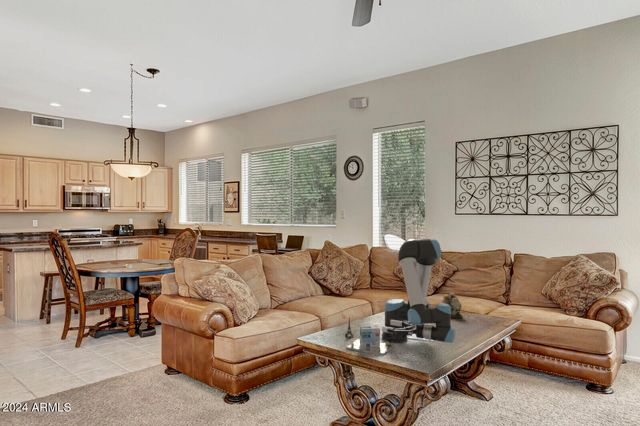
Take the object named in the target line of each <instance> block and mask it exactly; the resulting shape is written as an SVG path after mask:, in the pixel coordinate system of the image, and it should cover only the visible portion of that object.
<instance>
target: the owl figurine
mask: <svg viewBox="0 0 640 426" xmlns="http://www.w3.org/2000/svg"><path fill="white" fill-rule="evenodd" d="M441 303H445V304H448V305H450V307H451V319H453V320H460V319H463V318H464V316H463V314H461V310H462V303H461V301H460V300H459V298H458V297H457V296H456V294H455V293H454V292H450V293H448V294H447V293H446V294H444V295H443V299H442V301H441Z"/></svg>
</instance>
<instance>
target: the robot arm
mask: <svg viewBox="0 0 640 426" xmlns="http://www.w3.org/2000/svg"><path fill="white" fill-rule="evenodd" d="M397 253H398V254H397V260H398V264H399V266H401V270H402V275H403V279H404V284H405V289H406V293H407V297H408V299H407V301H405V299H402V298H392V299H389V300H387V301H385V303H384V326H383V325H382V326H381V332H382V333H381V339H382V340H383V341H384V342H386V341H388V343H394V344H395V343H396V344H397V343H405V342H407V341H408V336H410V337H412V336H413V335H415V337H416V338H417V339H426V340H429V341H436V342H441V343H446V344H447V343H449V344H450V343H451V344H452V343H454V342H455V341H456V329H455V328H453V327H452V326H451V321H452V320H451V307H450V305H448V304H445V303H442V302H439V303H437V304H435V307H431V306H430V302H429V301H428V299H427V295H428V290H429V283H430V279H431V273H432V269H433V268H432V267H433V266H434V265H436V262H437V261H438V260H440V259H441V257H442V250H441V245H440V243H439V241H438V240H437V239H436V238H415V239H414V238H411V239H407V240H405V241H404V242H403V243H402V244H401V245H400V248H399V250H398V252H397ZM436 260H437V261H436ZM434 324H435V325H434Z"/></svg>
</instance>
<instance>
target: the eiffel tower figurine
mask: <svg viewBox="0 0 640 426" xmlns="http://www.w3.org/2000/svg"><path fill="white" fill-rule="evenodd" d="M347 326H348V327H347V331H346V333H342V334H337V335H336V336H337V337H338V336H342V335H344V338H345V339H354V338H355V337H359V338H360V335H358V334H355V333H353V332H352V330H351V318H350V317H348V325H347Z"/></svg>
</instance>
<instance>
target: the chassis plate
mask: <svg viewBox="0 0 640 426" xmlns="http://www.w3.org/2000/svg"><path fill="white" fill-rule="evenodd" d="M345 348H346V350H350V351H355V352H360V353H367V354H371V355H372V354H373V355H377V356H384V355H385V354H387V353H388V352H389V351H390V350H391V349H393V348H394V344H390V343H389V342H388V341H385V342H384V343H383V342H380V347H371V348H362V347H361V345H360V338H357V339H356V340H354V341H353V342H351V343H350V344H348V345H347V346H346V347H345Z"/></svg>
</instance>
